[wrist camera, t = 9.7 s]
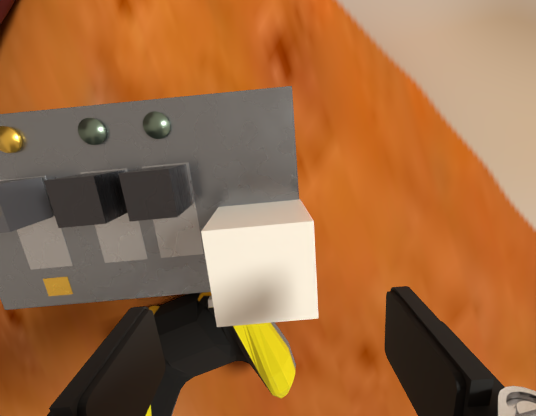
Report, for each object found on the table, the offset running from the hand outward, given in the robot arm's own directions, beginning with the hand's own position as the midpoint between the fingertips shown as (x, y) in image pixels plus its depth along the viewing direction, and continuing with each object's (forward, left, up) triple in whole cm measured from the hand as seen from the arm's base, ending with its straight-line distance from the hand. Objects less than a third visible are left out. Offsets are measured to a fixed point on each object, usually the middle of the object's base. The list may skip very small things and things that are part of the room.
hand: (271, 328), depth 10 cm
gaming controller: (-7, -10, -13) cm, 18 cm away
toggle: (-17, +5, -10) cm, 21 cm away
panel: (-10, +3, -12) cm, 16 cm away
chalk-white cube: (0, 0, -10) cm, 10 cm away
